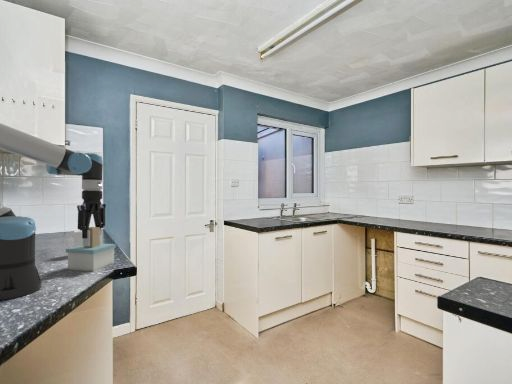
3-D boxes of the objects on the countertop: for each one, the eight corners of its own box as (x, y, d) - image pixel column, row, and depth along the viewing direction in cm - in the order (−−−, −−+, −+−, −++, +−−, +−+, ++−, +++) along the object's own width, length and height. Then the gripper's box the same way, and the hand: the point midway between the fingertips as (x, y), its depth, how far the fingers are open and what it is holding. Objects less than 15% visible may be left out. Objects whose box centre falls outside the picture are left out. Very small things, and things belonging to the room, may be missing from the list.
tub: (93, 271, 111) (93, 253, 111) (67, 269, 113) (67, 252, 113) (114, 263, 123) (114, 247, 123) (90, 262, 125) (90, 246, 125)
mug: (64, 258, 132) (64, 232, 132) (65, 254, 139) (66, 230, 139) (93, 255, 138) (93, 231, 138) (93, 252, 145) (93, 229, 145)
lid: (93, 256, 110) (93, 230, 110) (65, 254, 113) (65, 229, 113) (115, 249, 123) (116, 226, 123) (90, 248, 126) (90, 225, 126)
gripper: (82, 190, 108) (82, 249, 108) (114, 190, 126) (114, 241, 126) (66, 189, 110) (65, 248, 110) (100, 190, 128) (100, 240, 128)
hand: (91, 244), depth 118 cm, fingers open, 5 cm apart
